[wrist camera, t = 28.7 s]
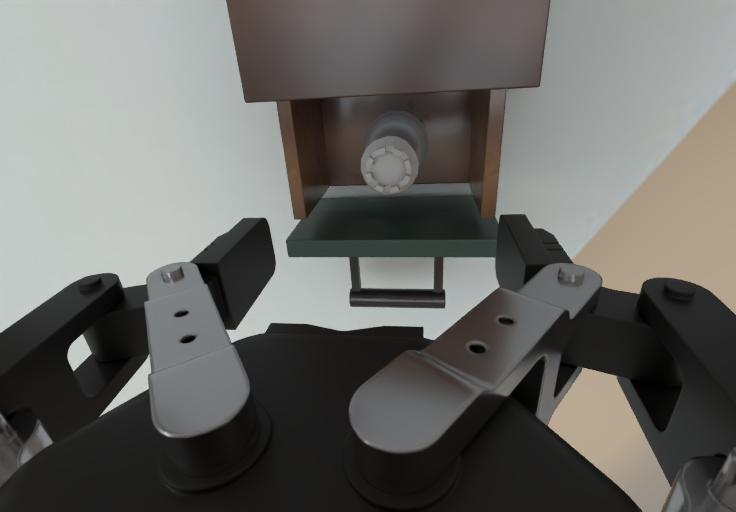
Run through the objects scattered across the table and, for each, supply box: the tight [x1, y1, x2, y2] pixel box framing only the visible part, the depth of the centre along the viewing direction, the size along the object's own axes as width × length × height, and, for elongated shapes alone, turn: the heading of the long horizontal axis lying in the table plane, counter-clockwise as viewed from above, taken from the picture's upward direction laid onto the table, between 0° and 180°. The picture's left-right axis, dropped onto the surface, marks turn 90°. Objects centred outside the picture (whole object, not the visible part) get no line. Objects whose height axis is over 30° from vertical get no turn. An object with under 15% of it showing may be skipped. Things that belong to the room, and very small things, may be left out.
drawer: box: [276, 89, 506, 308], centre depth 26 cm, size 19×13×8 cm
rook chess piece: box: [361, 110, 428, 195], centre depth 25 cm, size 4×4×8 cm
